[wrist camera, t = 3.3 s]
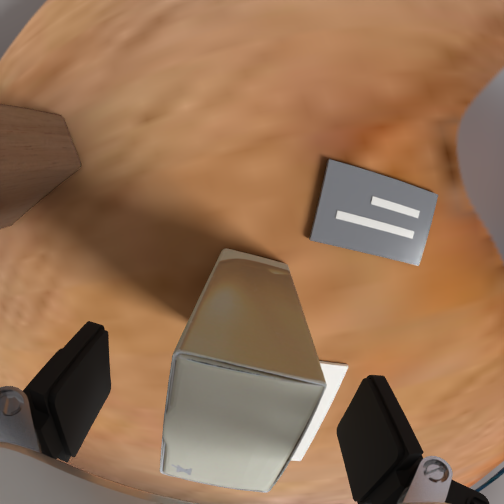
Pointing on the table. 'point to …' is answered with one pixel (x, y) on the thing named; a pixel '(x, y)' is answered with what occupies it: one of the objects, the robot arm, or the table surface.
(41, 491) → the robot arm
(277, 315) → the skincare box
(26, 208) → the wooden block
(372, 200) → the slate card
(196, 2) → the table surface
